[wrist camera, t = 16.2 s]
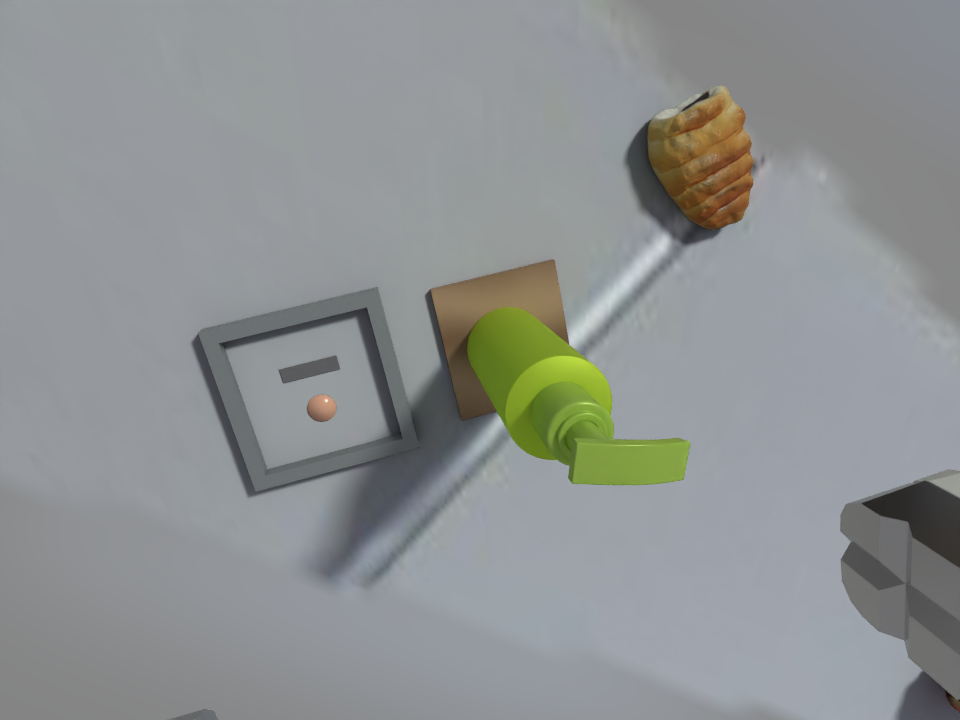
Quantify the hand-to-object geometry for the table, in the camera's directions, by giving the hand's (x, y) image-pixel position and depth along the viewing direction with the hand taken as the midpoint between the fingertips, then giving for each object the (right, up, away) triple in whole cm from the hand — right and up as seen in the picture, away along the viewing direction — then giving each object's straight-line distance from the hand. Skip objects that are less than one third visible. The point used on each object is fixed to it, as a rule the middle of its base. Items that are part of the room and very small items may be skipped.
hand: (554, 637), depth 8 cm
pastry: (+14, +18, +37) cm, 44 cm away
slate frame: (-13, +1, +37) cm, 39 cm away
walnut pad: (+1, +5, +38) cm, 39 cm away
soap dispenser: (+1, +4, +38) cm, 39 cm away
